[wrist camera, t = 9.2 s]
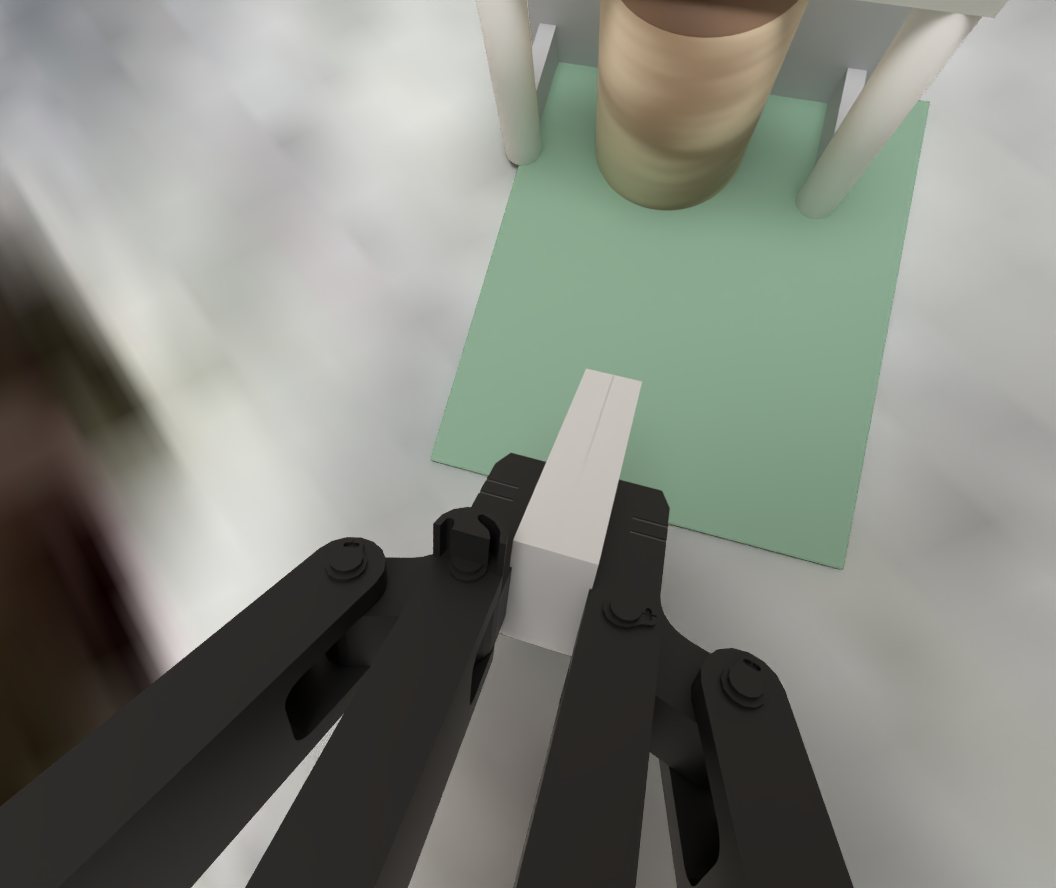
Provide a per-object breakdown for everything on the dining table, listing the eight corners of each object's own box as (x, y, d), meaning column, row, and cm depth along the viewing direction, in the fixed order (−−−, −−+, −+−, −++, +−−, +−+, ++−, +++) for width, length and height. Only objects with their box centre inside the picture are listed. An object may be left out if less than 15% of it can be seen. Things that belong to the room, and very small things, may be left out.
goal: (859, 93, 26) (1062, -234, 15) (833, 222, 25) (1028, -26, 14) (537, 44, 28) (508, -272, 17) (501, 161, 27) (446, -95, 16)
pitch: (924, 108, 26) (929, 101, 26) (838, 568, 23) (843, 569, 22) (555, 52, 28) (554, 45, 28) (432, 460, 25) (430, 459, 25)
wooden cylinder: (749, 83, 27) (833, -147, 18) (738, 215, 26) (821, 40, 17) (604, 77, 27) (614, -145, 19) (587, 205, 26) (589, 34, 17)
